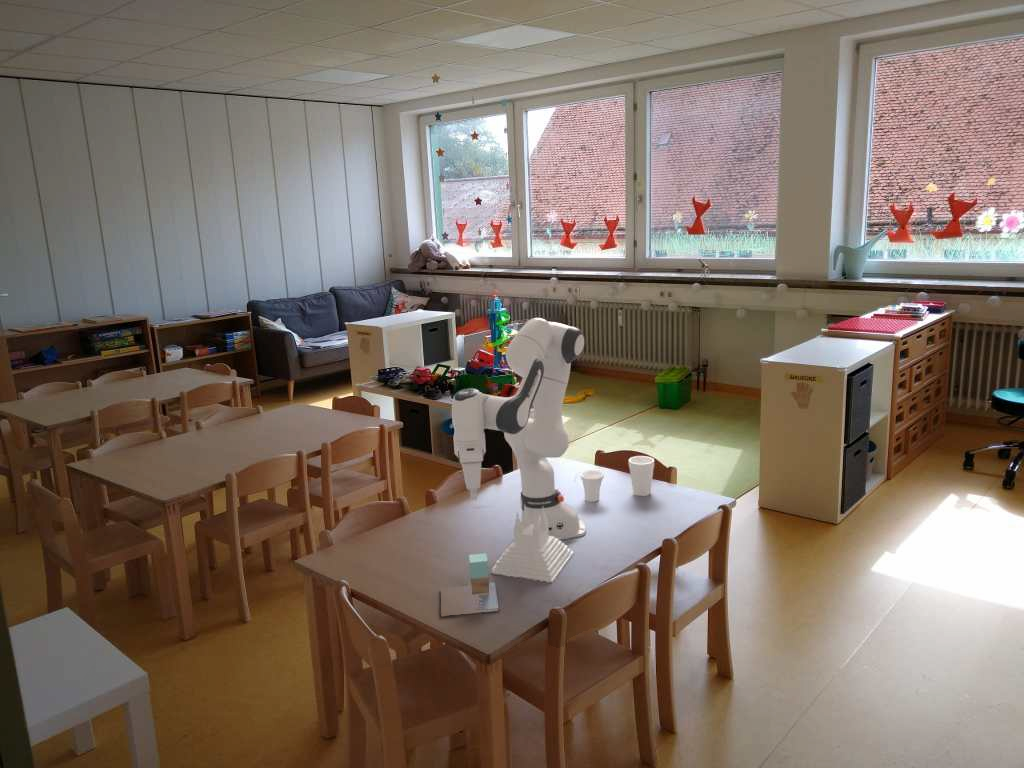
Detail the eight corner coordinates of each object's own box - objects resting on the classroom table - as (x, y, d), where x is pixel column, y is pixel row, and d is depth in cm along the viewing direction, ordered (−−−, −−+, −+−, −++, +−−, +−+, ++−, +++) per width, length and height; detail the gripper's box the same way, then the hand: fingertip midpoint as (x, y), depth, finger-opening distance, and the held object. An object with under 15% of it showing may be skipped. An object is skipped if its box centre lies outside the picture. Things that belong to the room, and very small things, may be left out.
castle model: (573, 554, 245) (571, 500, 240) (552, 583, 227) (549, 525, 223) (515, 546, 252) (512, 493, 248) (490, 574, 235) (486, 518, 230)
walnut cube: (471, 586, 225) (470, 570, 224) (488, 584, 225) (487, 569, 224) (472, 594, 220) (470, 578, 219) (489, 593, 221) (488, 577, 219)
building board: (494, 585, 227) (494, 581, 227) (498, 611, 213) (498, 607, 212) (440, 590, 226) (440, 586, 226) (440, 617, 211) (440, 613, 211)
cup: (590, 505, 281) (589, 480, 279) (576, 498, 289) (575, 472, 287) (610, 500, 285) (609, 474, 283) (595, 492, 293) (594, 467, 291)
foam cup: (656, 497, 286) (655, 463, 283) (631, 498, 286) (630, 464, 283) (652, 487, 295) (651, 455, 292) (627, 488, 295) (627, 456, 292)
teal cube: (470, 570, 224) (469, 554, 223) (487, 569, 224) (486, 553, 223) (470, 578, 219) (469, 562, 218) (488, 577, 219) (487, 561, 218)
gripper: (457, 436, 227) (460, 481, 230) (459, 459, 207) (463, 507, 210) (479, 435, 228) (481, 479, 231) (483, 457, 208) (486, 505, 211)
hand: (473, 493), depth 220 cm, fingers open, 8 cm apart
